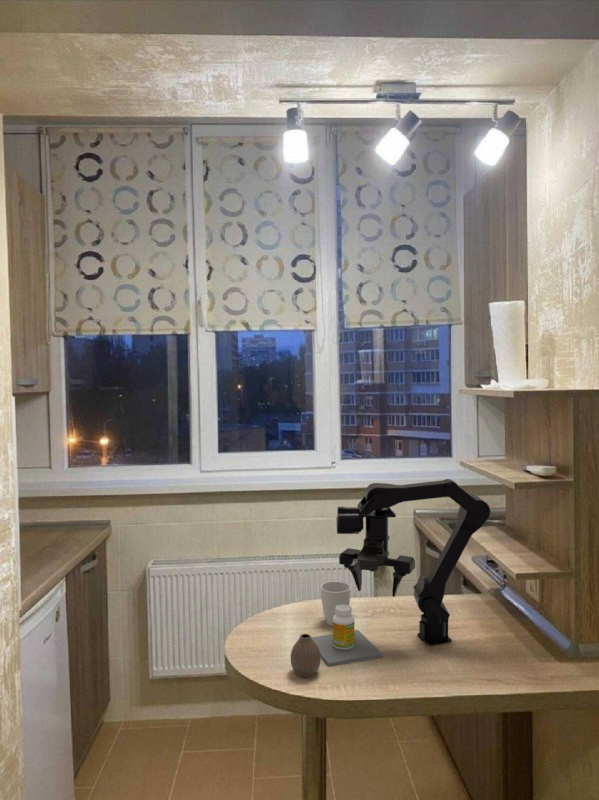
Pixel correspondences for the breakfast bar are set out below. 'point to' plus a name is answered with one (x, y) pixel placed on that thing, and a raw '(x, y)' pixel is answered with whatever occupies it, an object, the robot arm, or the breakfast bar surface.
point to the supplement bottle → (343, 628)
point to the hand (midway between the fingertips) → (376, 593)
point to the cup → (334, 598)
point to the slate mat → (336, 656)
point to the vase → (305, 656)
